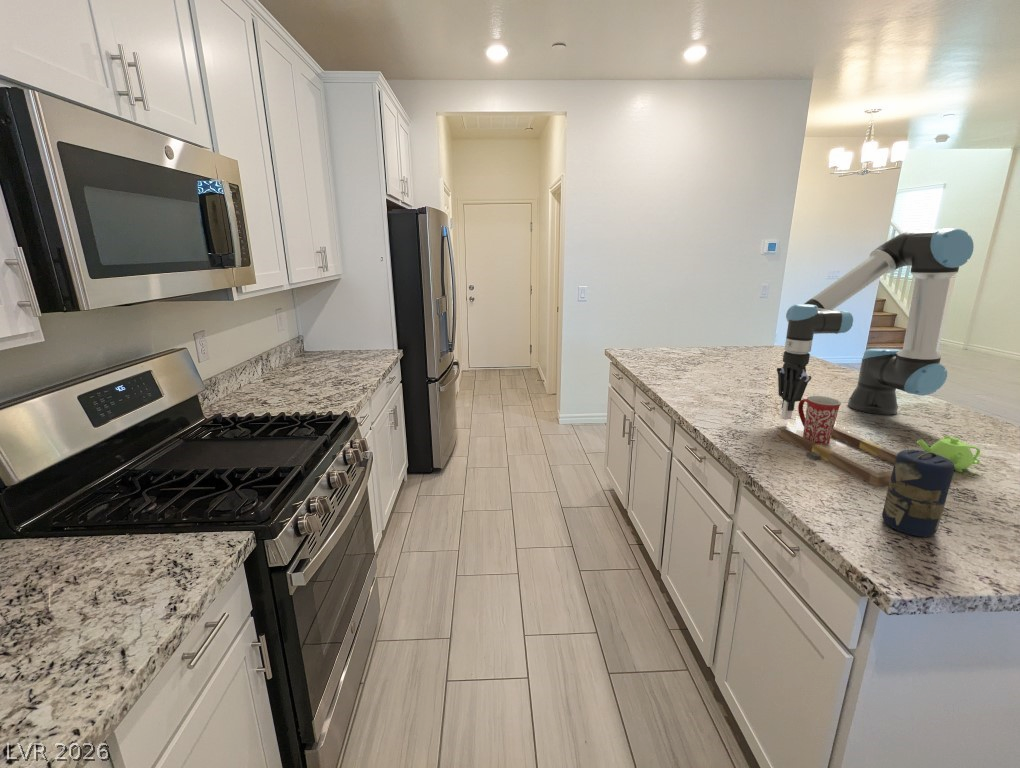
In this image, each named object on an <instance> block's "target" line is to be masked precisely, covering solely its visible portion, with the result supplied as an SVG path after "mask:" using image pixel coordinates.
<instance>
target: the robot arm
mask: <svg viewBox="0 0 1020 768" xmlns="http://www.w3.org/2000/svg"><path fill="white" fill-rule="evenodd" d="M973 252H974V240H973V237H972V236H971V235H970V234H969V233H968V232H967V231H966V230H964V229H961V228H955V227H954V228H952V227H943V228H942V227H941V228H928V229H925V228H924V229H922V228H921V229H911V230H909V231H908V230H907V231H905V232H902V233H901V234H900V233H899V235H896V236H894V237H893V238H891V239H889V240H888V241H885V242H884V243H883V244H881V245H879V246H878V247H876V248H875V249H874V250H872V251H871V252H870V253H869V256H868V258H866V259H864V261H862V262H861V263H859V264H858V265H856V266H855V267H853V268H852V269H851V270H849V271H847V273H845V274H844V275H843V276H841V277H839V278H838V279H837V280H836V281H834V282H833V283H831V284H829V285H828V286H827V287H825V288H824V289H823V290H821V291H820V292H819V293H817V294H815V295H814V296H813V297H812V298H810V299H808V300H807V301H806V302H804V303H797V304H793V305H791V306H790V307H789V308H788V309H787V311H786V313H785V318H786V321H787V328H786V329H787V330H786V337H785V344H784V351H783V354H782V355H783V356H782V362H783V364H782V366H781V367H777V368H776V372H777V380H778V383H777V387H778V390H777V392H778V396H779V397H781V398H782V404H781V409H782V410H781V416H780V417H781V419H782V420H785V421H786V420H791V419H792V415H793V411H794V410H795V404H796V402H800V401H801V400H802V398H803V396H804V393H805V392H806V389H807V386H808V383H809V382H810V381H811V380H812V376H811V375H808V373H807V368H806V367H807V365H808V364H809V362H810V357H811V354H810V352H812V346H813V340H814V334H815V335H818V334H820V335H821V334H835V335H837V334H842V333H843V334H845V333H847V332H849V331H850V330H851V329H852V327H853V326H854V325H853V323H854V315H853V314H852V313H851V311H848V310H842V309H837V310H836V308H838V307H839V306H841V305H842V304H844V303H845V302H846V301H848V300H849V299H850V298H852V297H853V296H855V295H856V294H858V293H859V292H861V291H863V289H865V288H867V287H868V286H869V285H871V284H872V283H874V282H875V281H877V279H879V278H880V277H883V275H885V274H891V273H893V272H895V271H896V270H897V269H899V268H902V267H907V266H908V267H909V266H911V268H910V274H911V276H913V277H914V279H915V280H914V282H913V283H914V284H913V289H912V294H911V295H912V296H911V299H910V300H911V301H910V306H909V311H908V318H907V324H906V328H905V334H904V340H903V346H902V349H899V348H867V349H866V350H865V351H864V353H863V355H862V358H861V362H860V363H861V364H860V368H859V373H858V374H859V375H858V379H857V380H858V381H857V385H856V387H855V388H854V390H853V392H852V394H851V395H850V397H849V398H848V402H847V406H848V407H850V408H851V409H854V410H856V411H859V412H864V413H867V414H873V415H874V414H876V415H884V416H885V415H888V416H890V415H895V414H897V412H898V409H899V404H898V400H897V394H896V393H897V392H896V390H899V391H902V392H905V393H906V394H910V395H916V396H918V397H919V396H921V397H923V396H930V395H933V394H934V393H936V392H937V391H938V390H940V389H941V388H942V386H944V384H945V382H946V381H947V378H948V370H947V369H946V367H945V366H944V365H942V363H941V357H942V356H941V354H940V353H939V352H938V351H937V348H938V342H939V337H940V332H941V327H942V323H943V322H942V321H943V318H944V317H943V316H944V311H945V306H946V302H947V297H948V291H949V288H950V287H949V286H950V281H951V278H952V277H953V276H954V275H956V274H957V273H959V268H960V267H962V266H964V265H965V264H967V263H968V261H969V260H970V258H971V257H972V255H973Z"/></svg>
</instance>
